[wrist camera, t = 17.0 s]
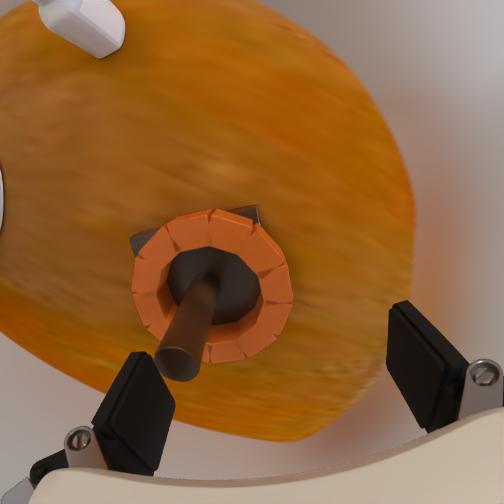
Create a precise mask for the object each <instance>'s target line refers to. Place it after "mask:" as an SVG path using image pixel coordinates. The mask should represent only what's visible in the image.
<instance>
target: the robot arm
mask: <svg viewBox="0 0 504 504" xmlns="http://www.w3.org/2000/svg"><path fill="white" fill-rule="evenodd" d="M2 217H3V183H2V174H1V170H0V229H1V224H2ZM386 365H387V369H388V371H389V373H390V374H391V376H392V378H393V380H394V381H395V383H396V385H397V386H398V388H399V390H400V391H401V394H402V395H403V397H404V399H405V401H406V402H407V404H408V406H409V408H410V410H411V411H412V413H413V415H414V417H415V419H416V421H417V422H418V424H419V426H420V427H421V428H425V429H426V431H427V433H428V434H427V435H425V436H422V437H420V438H418V439H415V440H413V441H411V442H408V443H405V444H403V445H401V446H397V447H395V448H392V449H389V450H387V451H384V452H381V453H378V454H375V455H372V456H369V457H365V458H362V459H359V460H355V461H351V462H348V463H344V464H340V465H336V466H332V467H327V468H323V469H319V470H313V471H308V472H303V473H296V474H290V475H283V476H275V477H266V478H255V479H240V480H187V479H171V478H161V477H153V475H154V471H156V470H157V469H158V467H159V464H160V460H161V456H162V453H163V449H164V445H165V442H166V438H167V434H168V431H169V427H170V424H171V421H172V417H173V414H174V410H175V400H174V398H173V397H172V395H171V393H170V391H169V390H168V388H167V386H166V384H165V382H164V380H163V378H162V377H161V375H160V373H159V371H158V369H157V367H156V365H155V363H154V361H153V359H152V357H151V356H150V355H149V354H147V353H146V352H144V351H141V352H132V353H130V355H129V356H128V358H127V360H126V361H125V363H124V365H123V366H122V368H121V370H120V372H119V373H118V375H117V377H116V378H115V380H114V382H113V384H112V385H111V387H110V389H109V391H108V392H107V394H106V396H105V398H104V400H103V402H102V403H101V405H100V407H99V409H98V411H97V412H96V414H95V416H94V418H93V420H92V422H91V423H92V424H93V425H94V427H93V429H91V428H90V427H87V426H80V427H76V428H75V429H73V430H71V431H70V432H69V433H68V434H67V436H66V438H65V440H64V447H65V449H63V450H61V451H59V452H57V453H55V454H53V455H50V456H48V457H46V458H44V459H42V460H39V461H38V462H36V463H35V464H34V465H33V466H32V468H31V470H30V479H29V478H28V477H26V478H25V479H23V480H22V481H21V482H19V483H18V484H17V485H16V486H14V487H13V488H12V489H11V490H9V491H8V492H7V493H5V494H4V495H3V497H2V499H1V504H504V376H503V371H502V368H501V367H500V365H499V364H497V363H496V362H494V361H493V360H490V359H479V360H476V361H474V362H472V363H471V364H469V363H468V362H467V361H466V359H465V358H464V357H463V356H462V355H461V354H460V353H459V352H458V351H457V349H456V348H455V347H454V346H453V345H452V344H451V343H450V342H449V341H448V340H447V339H446V338H445V337H444V336H443V335H442V334H441V333H440V332H439V331H438V330H437V329H436V328H435V327H434V326H433V325H432V324H431V323H430V322H429V321H428V320H427V319H426V318H425V317H424V316H423V315H422V314H421V313H420V312H419V311H418V310H417V309H416V308H415V307H414V306H413V305H412V304H411V303H410V302H409V301H408V300H405V301H402V302H399V303H395V304H394V305H393V306H392V309H390V310H389V322H388V343H387V357H386ZM437 429H438V430H437ZM435 430H436V431H435ZM433 431H434V432H433ZM431 432H432V433H431Z"/></svg>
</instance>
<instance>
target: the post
mask: <svg viewBox="0 0 504 504" xmlns="http://www.w3.org/2000/svg"><path fill="white" fill-rule="evenodd" d="M226 212H230V213H233V214H236V215H239V216H242V217H246V218H249V219H252V220H253V225H254V224H255V223H258V224H259V225H260V226H261V224H260V220H259V215H258V210H257V206H256V205H251V206H246V207H242V208H237V209H233V210H228V211H226ZM160 228H161V227H158V228H155V229H151V230H147V231H143V232H140V233H137V234H135V235H133V236H132V237H130V242H131V245H132V249H133V252H134V255H135V258H136V257H137V256H138V255H139V251H140V250H141V249H142V248H143V246H144V245H145V244H146V243H147V242H148V241H149V240H150V239H151V238H152V237H153V236H154V235H155V234H156V232H157V231H158V230H159V229H160ZM167 283H168V286H169V289H170V292H171V295H172V297H173V300H174V303H175V304H176V305H177V306H178V309H177V311H176V313H175V315H174V317H173V319H172V321H171V323H170V325H169V327H168V329H167V331H166V333H165V335H164V337H163V339H162V341H161V343H160V345H159V347H158V349H157V351H156V353H155V355H154V363H155V365H156V367H157V369H158V371H159V372H160V373H161V374H162V375H164V376H165V377H167V378H169V379H171V380H174V381H179V382H185V381H189V380H192V379H193V378H195V377H196V376H197V374H198V372H199V369H200V365H201V361H202V357H203V353H204V349H205V345H206V341H207V337H208V333H209V329H210V325H213V326H215V325H221V324H227V323H234V322H237V321H238V320H240V319H241V318H242V317H244V316H245V315H246V314H248V313H249V312H250V311H251V310H253V309H254V308H255V306H256V303H257V300H258V298H259V295H260V292H261V288H260V284H259V279H258V276H257V275H256V274H255V273H254V272H253V271H252V270H251V269H250V268H249V266H248V265H247V264H246V263H245V262H244V261H243V260H242V259H241V258H240V257H239V256H238V255H236V254H233V253H230V252H226V251H223V250H220V249H217V248H214V247H210V246H207V247H202V248H197V249H193V250H188V251H184V252H180V253H179V254H178V255H177V256H176V257H175V258H174V259H173V260H172V261H171V265H170V269H169V274H168V278H167Z"/></svg>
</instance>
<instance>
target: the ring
mask: <svg viewBox="0 0 504 504" xmlns="http://www.w3.org/2000/svg"><path fill="white" fill-rule="evenodd" d="M207 246H210V247H214V248H217V249H220V250H223V251H226V252H230V253H233V254H236V255H238V256H239V257H240V258H241V259H242V260H243V261H244V262H245V263H246V264H247V265H248V266H249V268H250V269H251V270H252V271H253V272H254V273H255V274H256V275H257V276H258V279H259V284H260V288H261V292H260V295H259V298H258V300H257V303H256V306H255V308H254V309H253V310H251V311H250V312H249V313H248V314H246V315H245V316H244V317H242V318H241V319H240V320H238V321H237V322H234V323H227V324H221V325H215V326H213V325H210V329H209V333H208V337H207V341H206V345H205V349H204V353H203V357H202V361H201V362H204V363H209V361H210V359H211V361H212V364H218V363H226V362H233V361H240V360H245V359H246V356H247V357H249V358H251V357H253V356H254V355H255V354H257V353H258V352H260V351H261V350H263V349H264V348H266V347H267V346H268V345H270V344H271V343H273V342H274V341H276V340H277V337H276V335H277V336H280V334H281V332H282V329H283V327H284V325H285V323H286V321H287V318H288V316H289V314H290V311H291V309H292V307H293V304H292V302H293V301H294V299H293V293H292V287H291V282H290V276H289V270H288V265H287V262H286V259H285V257H284V254H283V253H282V250H281V248H280V247H279V246H278V245H277V244H276V243H275V242H274V240H273V239H272V238H271V237H270V236H269V235H268V234H267V233H266V232H265V231H264V229H263V228H262V227H261V226H260V225H259V224H258V223H255V224H254V225H253V220H252V219H249V218H246V217H242V216H239V215H236V214H233V213H230V212H226V211H223V210H220V209H217V210H216V211H215V212H213V209H207V210H203V211H199V212H195V213H190V214H186V215H182V216H178V217H176V218H175V219H173V220H172V221H170V222H168V223H167V224H165V225H164V226H162V227H161V228H160V229H159V230H158V231H157V232H156V234H155V235H154V236H153V237H152V238H151V239H150V240H149V241H148V242H147V243H146V244H145V245H144V246H143V248H142V249H141V250H140V251H139V255H138V256H137V257H136V260H135V266H134V272H133V279H132V285H131V291H134V292H133V293H132V298H133V300H134V303H135V305H136V308H137V310H138V313H139V315H140V318H141V320H142V323H143V325H144V326H147V325H149V326H148V327H147V330H148V331H149V332H150V333H151V334H152V335H153V336H154V337H156V338H157V339H158V340H159V341H160V342H161V341H162V339H163V337H164V335H165V333H166V331H167V329H168V327H169V325H170V323H171V321H172V319H173V317H174V315H175V313H176V311H177V309H178V306H177V305H176V304H175V303H174V300H173V297H172V295H171V292H170V289H169V286H168V283H167V278H168V274H169V269H170V265H171V261H172V260H173V259H174V258H175V257H176V256H177V255H178V254H179V253H180V252H184V251H188V250H193V249H197V248H202V247H207Z"/></svg>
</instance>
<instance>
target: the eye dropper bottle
mask: <svg viewBox="0 0 504 504" xmlns="http://www.w3.org/2000/svg"><path fill="white" fill-rule="evenodd" d="M30 1H32V2H34V3H36V4H37V5H39V7H38V8H39V15H40V18H41V20H42V22H43V24H44V25H45V26H46V27H47V28H48V29H49V30H51V31H52V32H54V33H56V34H57V35H59V36H61V37H62V38H64V39H66V40H68V41H69V42H71V43H73V44H75V45H76V46H78V47H80V48H81V49H83V50H85V51H86V52H88V53H90V54H91V55H93V56H95V57H96V58H103V57H105V56H107V55H109V54H111V53H112V52H114V51H116V50H118V49H119V48H120V47H121V45H122V43H123V40H124V35H125V22H124V18H123V16H122V14H121V13H120V11H119V10H118V9H117V8H116V7H115V6H114V5H113V4H112V3H111V2H110V1H109V0H30Z"/></svg>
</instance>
